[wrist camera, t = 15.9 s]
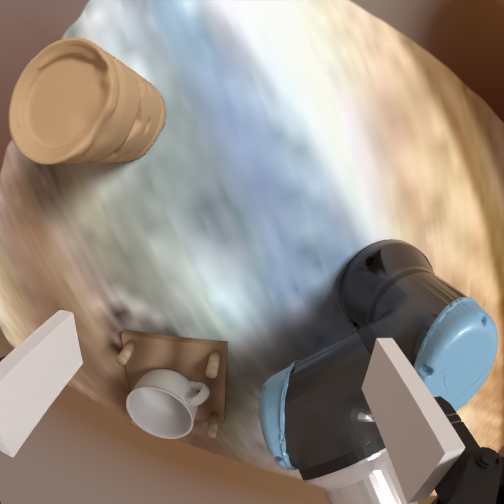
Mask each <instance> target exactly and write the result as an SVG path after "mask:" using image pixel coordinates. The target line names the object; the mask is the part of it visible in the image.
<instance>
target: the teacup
mask: <svg viewBox="0 0 504 504" xmlns="http://www.w3.org/2000/svg"><path fill="white" fill-rule="evenodd" d="M196 390H200V392H199V393H198V394H197V392H196ZM209 393H210V391H209V388H208V387H207V386H206V385H205V384H204V383H201V382H194V381H189V380H188V379H187V378H185V377H184V376H183V375H181V374H179V373H177V372H175V371H172V370H168V369H156V370H152V371H149V372H148V373H146V374H145V375H143V376H142V378H141V379H140V380H139V381H138V383H137V384H136V385H135V387H134V389H133V390H132V391H131V392H130V393H129V395H128V396H127V399H126V408H127V411H128V413H129V416H130V417H131V419H132V420H133V421H134V422H135V423H136V424H137V425H138V426H139V427H140V428H141V429H143V430H144V431H146V432H148V433H150V434H152V435H154V436H157V437H161V438H166V439H177V438H181V437H183V436H185V435H187V434H188V433H189V432H190V431H191V430H192V428H193V425H194V419H195V415H196V411H197V407H198V405H200V404H202V403H203V402H204V401H205V400H206V399H207V398H208V396H209Z"/></svg>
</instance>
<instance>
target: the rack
mask: <svg viewBox="0 0 504 504" xmlns="http://www.w3.org/2000/svg"><path fill="white" fill-rule="evenodd" d="M121 336H122V343H123V349H122V351H121V352H120V354H119V355H118V357H117V358H116V361H117V363H118V364H119V365H122V366H124V365H125V364H126V370H127V376H128V382H129V387H130V392H131V391H132V390H133V389H134V387H135V385H136V384H137V383H138V381H139V380H140V379H141V378H142V376H143V375H145V374H146V373H148V372H149V371H152V370H156V369H168V370H172V371H175V372H177V373H179V374H181V375H183V376H184V377H185V378H187V379H188V380H189V381H194V382H201V383H204V384H205V385H206V386H207V387H208V388H209V391H210V393H209V396H208V398H207V399H206V400H205V401H204V402H203V403H202V404H200V405H198V407H197V411H196V415H195V419H194V420H200V421H209V424H208V430H207V437H209V438H212V439H213V438H216V435H217V428H218V422H219V423H224V419H225V393H226V366H227V342H225V341H214V340H203V339H194V338H184V337H176V336H167V335H159V334H152V333H145V332H138V331H131V330H124V331H123V332H122V334H121ZM196 392H197V394H198V393H199V392H200V390H196ZM129 423H130V424H131V425H132V426H137V424H136V423H135V422H134V421H133V420H132V419H131V418H130V420H129Z"/></svg>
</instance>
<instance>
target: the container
mask: <svg viewBox="0 0 504 504" xmlns="http://www.w3.org/2000/svg"><path fill="white" fill-rule="evenodd" d="M165 115H166V112H165V104H164V101H163V98H162V96H161V95H160V93H159V92H158V90H157V89H156V88H155V87H154V86H153V85H152V84H151V83H150V82H148V81H147V80H145V79H144V78H143V77H141V76H140V75H139V74H137V73H136V72H135V71H133V70H132V69H130V68H129V67H127V66H126V65H125V64H123V63H122V62H121V61H119V60H118V59H116V58H115V57H113V56H112V55H110V54H109V53H108V52H106V51H104V50H103V49H102V48H100V47H99V46H97V45H96V44H94V43H93V42H91V41H89V40H87V39H83V38H66V39H62V40H59V41H56V42H54V43H52V44H50V45H49V46H47V47H46V48H45V49H43V50H42V51H41V52H40V53H39V54H38V55H37V56H35V57H34V58H33V59H32V60H31V61H30V62H29V63H28V65H27V66H26V67H25V69H24V70H23V72H22V74H21V75H20V77H19V79H18V81H17V83H16V85H15V88H14V90H13V94H12V97H11V101H10V107H9V128H10V134H11V137H12V140H13V142H14V144H15V146H16V148H17V149H18V150H19V151H20V152H21V153H22V154H23V155H24V156H26V157H27V158H29V159H31V160H32V161H34V162H36V163H39V164H44V165H52V164H60V163H64V164H75V163H83V162H87V161H89V162H92V163H116V162H117V163H119V162H128V161H132V160H135V159H138V158H140V157H142V156H143V155H145V154H146V152H147V151H148V150H149V149H150V147H151V146H152V145H153V143H154V142H155V141H156V139H157V137H158V136H159V134H160V132H161V130H162V129H163V127H164V126H165Z"/></svg>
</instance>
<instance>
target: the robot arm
mask: <svg viewBox="0 0 504 504" xmlns="http://www.w3.org/2000/svg"><path fill="white" fill-rule="evenodd" d="M340 301H341V306H342V309H343V311H344V313H345V315H346V317H347V319H348V320H349V322H350V323H351V324H352V326H353V327H354V328H355V329H356V330H358V331H355V332H354V333H352V334H350V335H348V336H347V337H345V338H343V339H341V340H339V341H337V342H336V343H334V344H332V345H330V346H328V347H326V348H324V349H322V350H321V351H319V352H317V353H315V354H313V355H311V356H309V357H307V358H305V359H303V360H301V361H299V360H298V361H295V362H293V363H292V364H291V366H289V367H287V368H286V369H284V370H282V371H280V372H278V373H276V374H274V375H273V376H271V377H270V378H269V379H268V380H267V381H266V382H265V383H264V385H263V388H262V390H261V395H260V398H259V416H260V423H261V428H262V432H263V436H264V439H265V442H266V445H267V447H268V450H269V452H270V453H271V455H272V456H275V461H276V463H277V464H278V465H279V466H280V467H282V468H284V469H287V470H296V469H299V471H300V474H301V476H302V478H303V480H304V482H305V483H307V484H310V485H313V486H316V487H319V488H321V489H322V490H323V491H324V493H325V495H326V498H327V500H328V502H329V504H418V503H417V501H420V500H423V499H426V498H427V497H428V496H429V495H430V494H431V493H432V492H433V490H434V489H435V491H436V493H437V495H438V496H437V497H436V499H435V500H434V501H433V502H432V503H431V504H504V457H500V455H499V454H498V453H497V452H496V451H494V450H492V449H490V448H485V447H481V448H480V447H479V445H478V444H477V442H476V441H475V439H474V438H473V436H472V435H471V433H470V432H469V430H468V429H467V427H466V426H465V424H464V423H463V422H461V418H460V417H459V415H458V414H456V410H458V409H459V408H461V407H462V406H464V405H465V404H466V403H467V402H468V401H469V400H470V399H471V398H472V397H473V396H474V395H475V394H476V393H477V392H478V390H479V389H480V388H481V386H482V385H483V383H484V382H485V380H486V379H487V377H488V375H489V372H490V370H491V368H492V366H493V364H494V361H495V357H496V353H497V347H498V334H497V329H496V326H495V323H494V321H493V320H492V318H491V317H490V316H489V315H488V314H487V313H486V312H485V311H484V310H483V309H482V308H481V307H480V306H479V305H478V303H477V302H476V301H475V300H474V299H472V298H469V297H467V296H465V295H464V294H463V293H461V292H460V291H458V290H457V289H455V288H454V287H452V286H451V285H449V284H448V283H447V282H445V281H444V280H442V279H441V278H439V277H438V276H436V275H435V274H434V272H433V269H432V267H431V265H430V262H429V261H428V259H427V258H426V256H425V255H424V254H423V253H422V252H421V251H420V250H419V249H417V248H416V247H414V246H412V245H410V244H409V243H406V242H404V241H400V240H383V241H379V242H376V243H374V244H371V245H370V246H368V247H366V248H365V249H363V250H362V251H361V252H360V253H358V254H357V255H356V256H355V258H354V259H353V260H352V261H351V263H350V264H349V266H348V267H347V269H346V271H345V273H344V276H343V278H342V282H341V287H340ZM82 364H83V361H82V357H81V352H80V347H79V343H78V337H77V332H76V327H75V321H74V315H73V312H68V311H63V310H59V311H58V312H57V313H55V314H54V315H53V316H52V317H51V318H49V319H48V320H47V321H46V322H45V323H44V324H42V325H41V326H40V327H39V328H38V329H36V330H35V331H34V332H33V333H32V334H31V335H30V336H28V337H27V338H26V339H25V340H24V341H23V342H22V343H20V344H19V345H18V346H17V347H16V348H15V349H14V350H13V351H11V352H10V353H9V354H8V355H7V356H4V357H2V358H0V451H2V452H4V453H6V454H8V455H9V456H11V457H14V456H15V454H16V453H17V451H18V450H19V449H20V447H21V446H22V444H23V443H24V441H25V440H26V439H27V437H28V436H29V434H30V433H31V432H32V430H33V429H34V427H35V426H36V424H37V423H38V422H39V420H40V419H41V418H42V416H43V415H44V414H45V412H46V411H47V409H48V408H49V407H50V405H51V404H52V403H53V401H54V400H55V399H56V397H57V396H58V394H59V393H60V392H61V391H62V390H63V388H64V387H65V386H66V384H67V383H68V382H69V380H70V379H71V378H72V377H73V375H74V374H75V373H76V371H77V370H78V369H79V368H80V366H81V365H82ZM0 504H1V503H0Z"/></svg>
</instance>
